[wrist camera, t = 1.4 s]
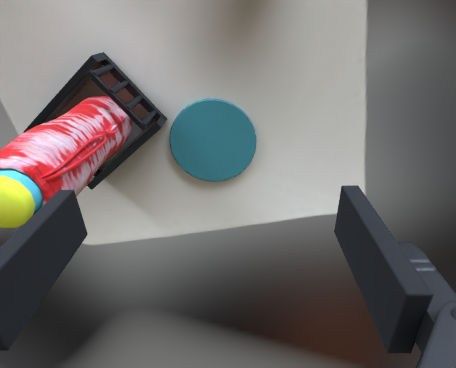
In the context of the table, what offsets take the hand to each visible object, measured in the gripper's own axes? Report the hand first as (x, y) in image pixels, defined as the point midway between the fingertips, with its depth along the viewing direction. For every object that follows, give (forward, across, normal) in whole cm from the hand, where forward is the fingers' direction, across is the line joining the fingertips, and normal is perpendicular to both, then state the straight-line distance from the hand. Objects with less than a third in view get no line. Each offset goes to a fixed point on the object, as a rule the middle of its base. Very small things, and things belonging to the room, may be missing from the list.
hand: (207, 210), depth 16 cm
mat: (+32, -2, -8) cm, 33 cm away
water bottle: (+32, -19, -5) cm, 38 cm away
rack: (+32, -19, -5) cm, 37 cm away
